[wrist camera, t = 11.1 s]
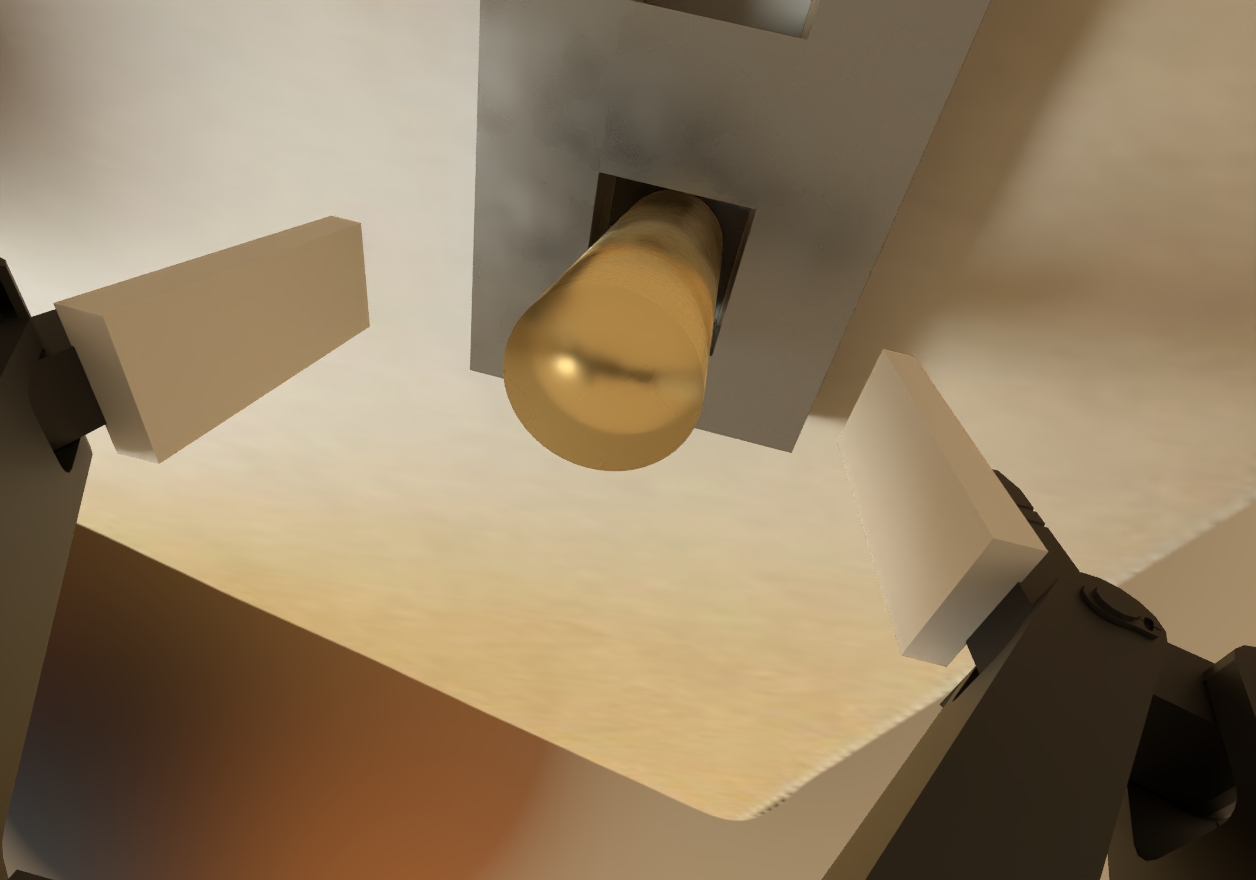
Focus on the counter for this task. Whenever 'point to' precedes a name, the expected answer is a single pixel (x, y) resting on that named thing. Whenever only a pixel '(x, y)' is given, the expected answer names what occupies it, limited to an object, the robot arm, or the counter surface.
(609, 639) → the counter surface
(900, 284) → the counter surface
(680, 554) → the counter surface
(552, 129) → the block
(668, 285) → the yellow translucent cylinder
